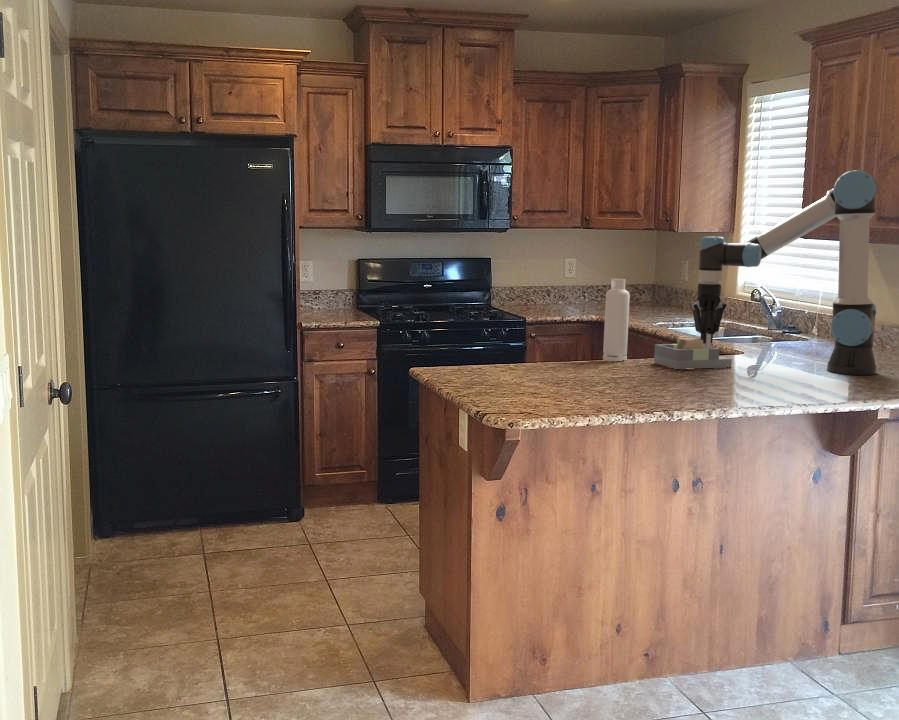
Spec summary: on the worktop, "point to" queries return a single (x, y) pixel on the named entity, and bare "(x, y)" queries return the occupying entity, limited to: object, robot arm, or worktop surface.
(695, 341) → the block
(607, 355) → the bottle
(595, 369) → the worktop surface
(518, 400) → the worktop surface
